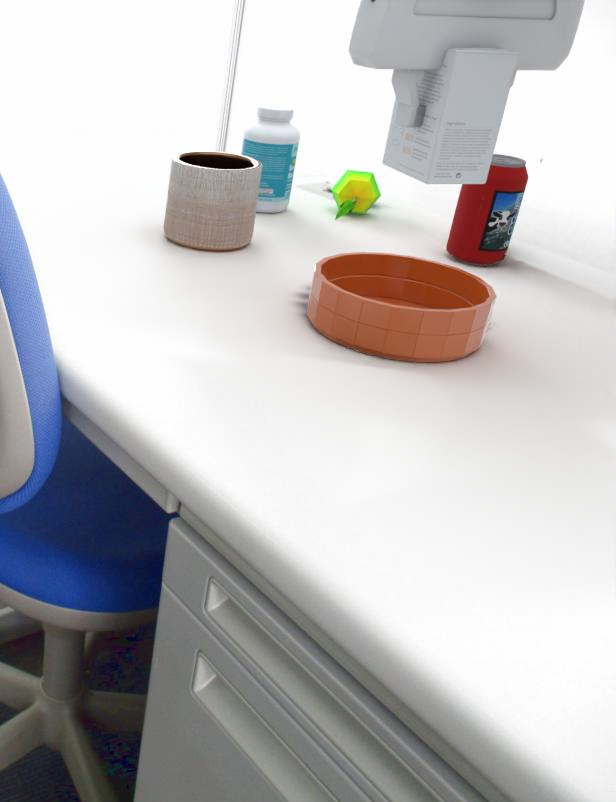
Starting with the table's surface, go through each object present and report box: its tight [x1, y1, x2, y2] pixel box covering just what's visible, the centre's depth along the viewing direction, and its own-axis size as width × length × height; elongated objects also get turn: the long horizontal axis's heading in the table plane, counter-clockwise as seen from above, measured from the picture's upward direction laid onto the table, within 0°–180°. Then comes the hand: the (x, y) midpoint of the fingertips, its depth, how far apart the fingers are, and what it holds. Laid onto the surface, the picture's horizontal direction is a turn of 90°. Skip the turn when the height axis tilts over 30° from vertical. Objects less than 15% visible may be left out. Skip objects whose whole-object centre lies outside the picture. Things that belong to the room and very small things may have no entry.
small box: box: [382, 48, 519, 185], centre depth 73 cm, size 8×6×10 cm
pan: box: [306, 251, 497, 363], centre depth 83 cm, size 16×16×5 cm
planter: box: [163, 150, 262, 252], centre depth 105 cm, size 11×11×10 cm
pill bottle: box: [240, 104, 301, 214], centre depth 119 cm, size 8×7×14 cm
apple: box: [330, 169, 382, 221], centre depth 120 cm, size 7×6×9 cm
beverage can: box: [445, 153, 529, 267], centre depth 103 cm, size 7×7×12 cm
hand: (443, 125), depth 74 cm, fingers closed on small box, 6 cm apart
